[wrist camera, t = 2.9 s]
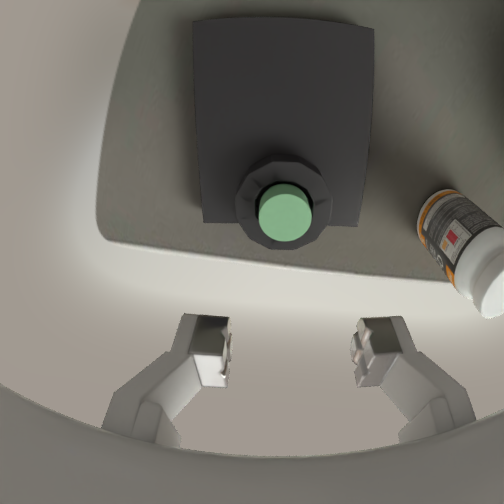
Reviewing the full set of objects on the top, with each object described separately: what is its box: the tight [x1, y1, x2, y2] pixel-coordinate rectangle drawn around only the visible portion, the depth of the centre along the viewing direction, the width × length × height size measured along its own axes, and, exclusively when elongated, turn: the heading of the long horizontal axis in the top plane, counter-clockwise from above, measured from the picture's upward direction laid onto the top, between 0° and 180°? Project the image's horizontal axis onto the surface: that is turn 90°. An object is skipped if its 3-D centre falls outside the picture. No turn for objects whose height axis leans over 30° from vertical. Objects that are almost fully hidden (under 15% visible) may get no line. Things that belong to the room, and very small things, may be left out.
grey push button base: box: [193, 17, 374, 250], centre depth 16 cm, size 15×11×4 cm
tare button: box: [259, 184, 312, 241], centre depth 17 cm, size 3×3×2 cm
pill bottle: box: [417, 189, 504, 319], centre depth 16 cm, size 6×6×10 cm
